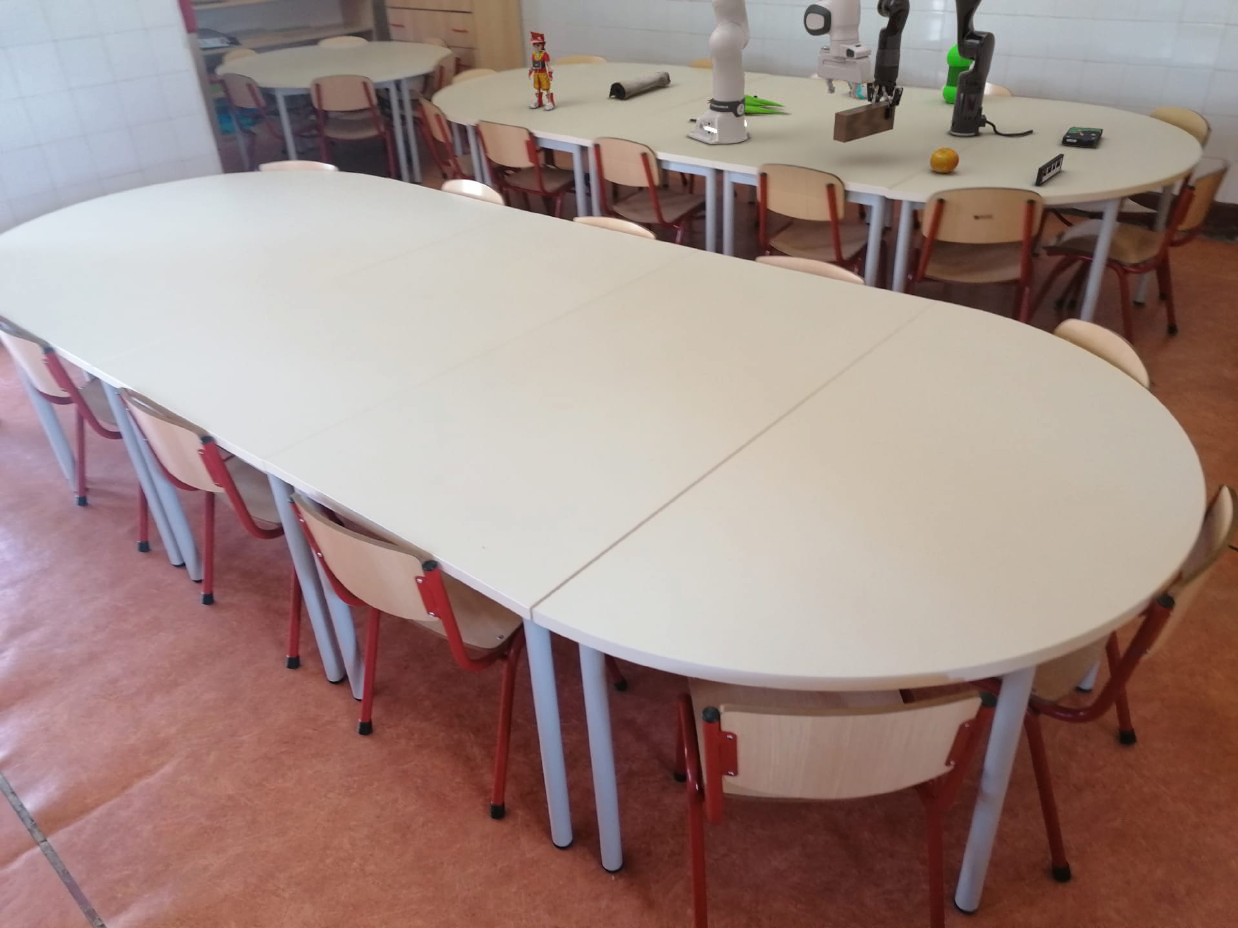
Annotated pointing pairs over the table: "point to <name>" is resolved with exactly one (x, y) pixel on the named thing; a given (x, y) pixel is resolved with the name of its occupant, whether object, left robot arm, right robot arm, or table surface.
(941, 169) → the fruit
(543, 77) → the toy
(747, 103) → the toy
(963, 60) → the green tall rounded piece
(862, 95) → the anatomical model
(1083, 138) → the disk drive
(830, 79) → the left robot arm
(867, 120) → the bar
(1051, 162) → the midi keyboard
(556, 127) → the table surface
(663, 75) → the rolled mat
